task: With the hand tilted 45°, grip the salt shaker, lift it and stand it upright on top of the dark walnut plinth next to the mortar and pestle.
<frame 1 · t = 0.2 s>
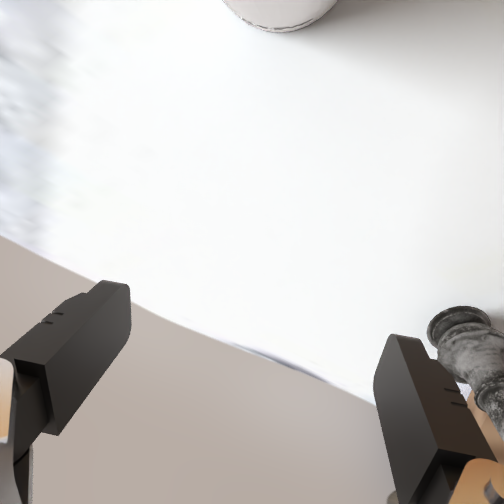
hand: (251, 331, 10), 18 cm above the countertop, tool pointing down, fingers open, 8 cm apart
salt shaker: (456, 328, 31), on the countertop
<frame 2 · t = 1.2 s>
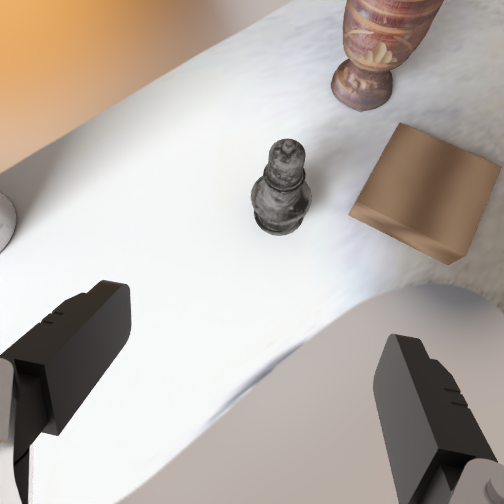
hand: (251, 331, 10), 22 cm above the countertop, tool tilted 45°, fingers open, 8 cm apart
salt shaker: (278, 213, 36), on the countertop
mortar and pestle: (354, 79, 42), on the countertop
walnut plinth: (416, 198, 36), on the countertop
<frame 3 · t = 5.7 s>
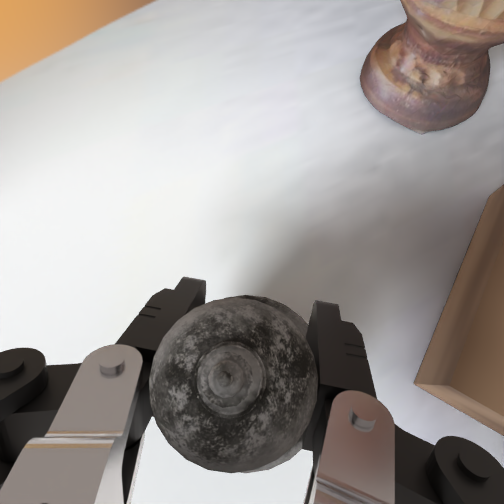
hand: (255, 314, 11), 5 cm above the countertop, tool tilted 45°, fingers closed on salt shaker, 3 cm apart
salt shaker: (248, 376, 15), on the countertop, touching gripper
mortar and pestle: (403, 68, 22), on the countertop
when the fingers open (9 cm above the countertop, at t = 11.3 s): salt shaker stays where it is, resting on walnut plinth.
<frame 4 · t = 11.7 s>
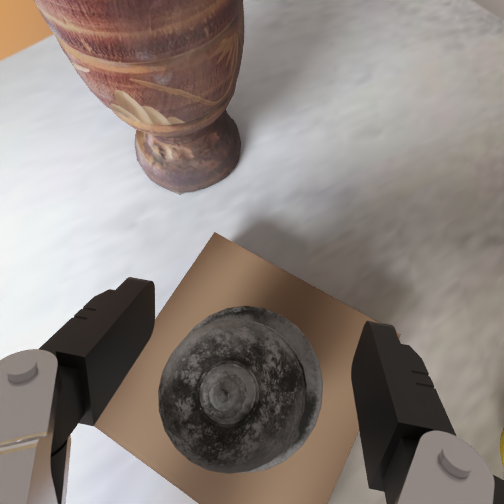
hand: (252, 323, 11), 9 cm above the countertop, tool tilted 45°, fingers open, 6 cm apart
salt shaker: (248, 380, 16), point 3 cm above the countertop, touching walnut plinth
mortar and pestle: (183, 133, 25), on the countertop
walnut plinth: (250, 375, 19), on the countertop
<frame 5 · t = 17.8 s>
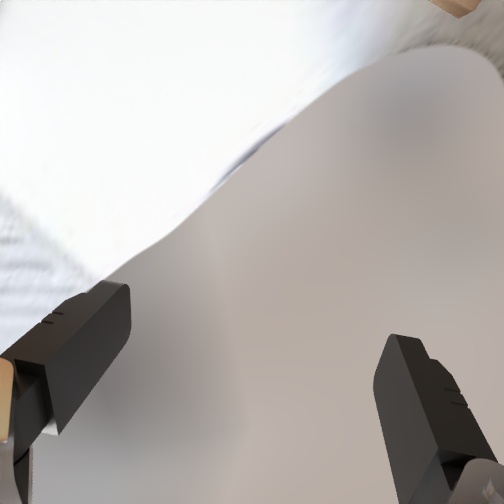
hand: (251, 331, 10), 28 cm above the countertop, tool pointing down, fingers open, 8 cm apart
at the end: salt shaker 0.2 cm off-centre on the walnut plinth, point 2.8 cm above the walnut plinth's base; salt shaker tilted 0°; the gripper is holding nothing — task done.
